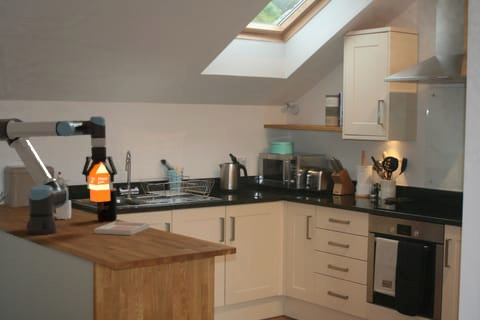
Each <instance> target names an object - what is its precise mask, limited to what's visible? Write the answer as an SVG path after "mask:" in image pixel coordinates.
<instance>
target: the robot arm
mask: <svg viewBox="0 0 480 320" xmlns="http://www.w3.org/2000/svg"><path fill="white" fill-rule="evenodd" d="M106 126H107V125H106V118H105V116H102V115H101V116H90V117H89V120H61V121H60V120H59V121H56V120H55V121H53V120H52V121H49V120H48V121H24V120H22V119H19V118H15V117H13V118H0V142H6V143H7V145H8V146H9V148H11V149H13V150H15V152H16V154H17V155H18V157H19V159H20V160H21V162H22V164H23V165H24V166H25V168H26V170H27V171H28V173H29V175H30V176H31V177H32V178H31V179H33V181H34V183H35V186H32V187H31V188H30V189H29V190H28V214H29V218H28V220H27V224H26V227H25V233H26V234H28V235H49V234H50V235H51V234H55V233H57V231H58V228H57V224H56V221H55V219H54V216H53V213H54V209H56V208H59V207H61V206H63V205H65V204H66V202H67V200H69V191H68V188H66V187H65V186H64V185H62V184H60V182H59V181H58V180H57V178H53V177H52V175H51V174H50V172H49V170H48V168H47V167H46V165H45V164H44V162H43V160H42V159H41V158H40V156H39V155H38V153H37V151H36V149H35V148H34V145H32V143H31V141H30V138H34V137H35V138H36V137H38V138H39V137H71V136H72V137H73V136H90V146H91V148H90V149H91V150H90V151H91V152H90V153H91V156H89V155H88V156H86V157H85V163H84V166H83V169H82V172H81V175H83V176H85V182H86V183H87V186H86V187H87V190H90V172H91V170H92V169H93V168H94V166H95V165H97V164H99V163H100V162H102V163H103V164H104V166H105V167H106V168H105V169H106V170H107V171H108V173H109V175H110V176H109V189H112V188H114V186H113V185H114V182H115V176H116V175H118V171H117V169H116V165H115V164H114V160H113V156H112V155H110V156H109V155H108V156H107V147H106V146H107V137H106ZM91 161H92V162H91ZM107 161H108V162H107ZM103 164H102V165H103ZM89 165H90V166H89Z"/></svg>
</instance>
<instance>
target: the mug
mask: <svg viewBox="0 0 480 320" xmlns="http://www.w3.org/2000/svg"><path fill="white" fill-rule="evenodd" d="M55 209H56V210H55V211H56V213H54V212H53V217H56V220H60V219H65V220H70V219H71V218H72V200H70V199H68V200H67V202H66V204H65V205H63V206H61V207H59V208H55Z"/></svg>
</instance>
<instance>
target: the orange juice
mask: <svg viewBox="0 0 480 320" xmlns="http://www.w3.org/2000/svg"><path fill="white" fill-rule="evenodd" d="M102 164H103V163H102V162H100V163H99V164H97V165H95V166H94V168H93V169H92V170H91V172H90V175H89V176H90V189H89V193H90V194H89V196H90V201H92V202H95V203H97V202H101V201H110V189H109V176H110V174H109V173H108V171H107V170H106V169H105V168H106V167H105V166H104V164H103V165H102Z"/></svg>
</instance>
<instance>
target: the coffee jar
mask: <svg viewBox="0 0 480 320" xmlns="http://www.w3.org/2000/svg"><path fill="white" fill-rule="evenodd" d="M117 197H118V196H117V188H115V187H113V188H112V189H110V201H101V202H96V204H97V205H96V206H97V207H96V208H97V214H96V215H97V220H98V221H99V222H102V221H110V222H116V220H117V217H118V215H117V211H118V209H117V207H118V206H117V203H118V202H117V200H118V199H117Z"/></svg>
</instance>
